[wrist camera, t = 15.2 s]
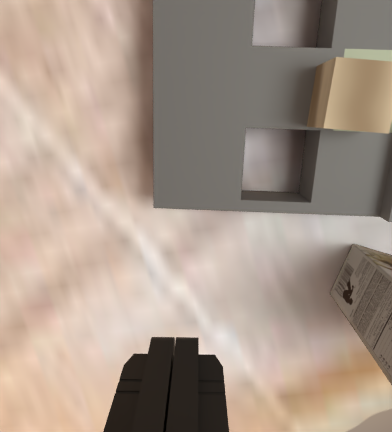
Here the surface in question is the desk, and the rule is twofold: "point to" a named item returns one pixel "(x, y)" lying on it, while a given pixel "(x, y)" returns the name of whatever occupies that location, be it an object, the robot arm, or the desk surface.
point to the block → (352, 95)
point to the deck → (260, 109)
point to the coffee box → (368, 301)
